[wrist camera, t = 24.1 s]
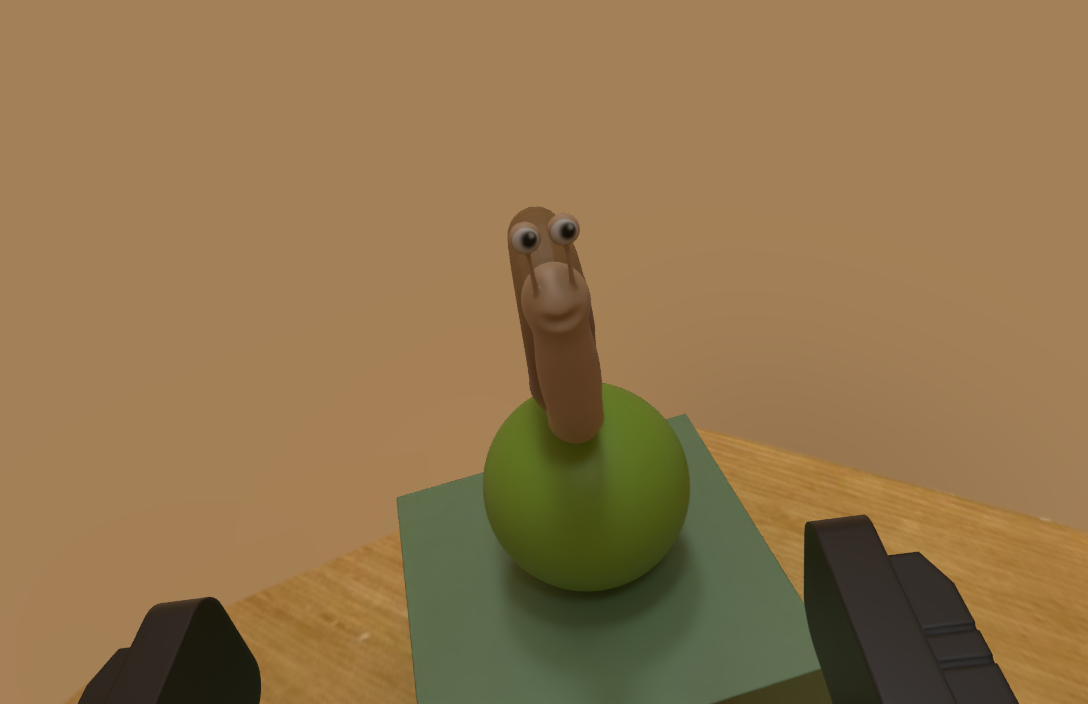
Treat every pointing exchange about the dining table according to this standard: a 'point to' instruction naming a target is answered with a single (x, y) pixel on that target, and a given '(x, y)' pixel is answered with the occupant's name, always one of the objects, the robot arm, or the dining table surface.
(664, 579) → the green block
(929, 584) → the robot arm
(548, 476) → the snail figurine
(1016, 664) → the dining table surface
